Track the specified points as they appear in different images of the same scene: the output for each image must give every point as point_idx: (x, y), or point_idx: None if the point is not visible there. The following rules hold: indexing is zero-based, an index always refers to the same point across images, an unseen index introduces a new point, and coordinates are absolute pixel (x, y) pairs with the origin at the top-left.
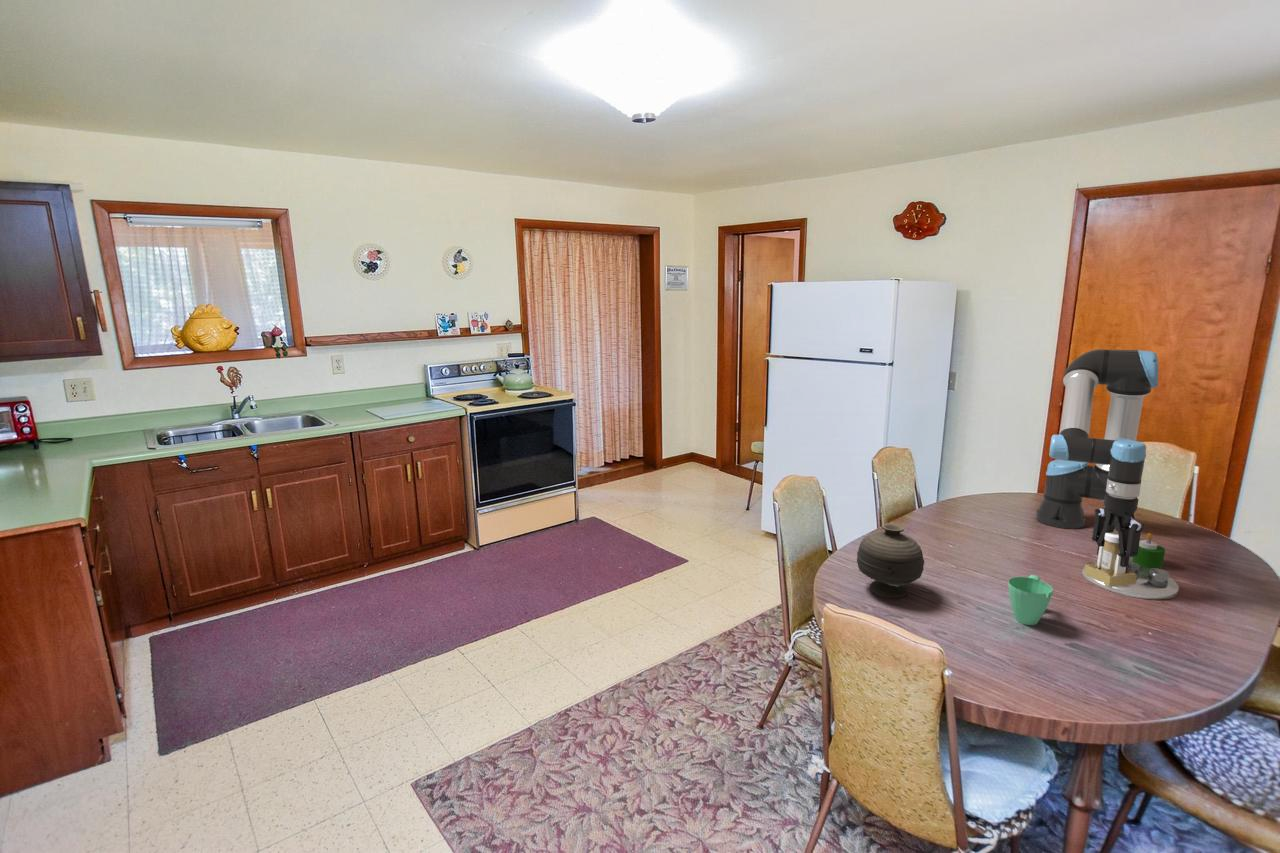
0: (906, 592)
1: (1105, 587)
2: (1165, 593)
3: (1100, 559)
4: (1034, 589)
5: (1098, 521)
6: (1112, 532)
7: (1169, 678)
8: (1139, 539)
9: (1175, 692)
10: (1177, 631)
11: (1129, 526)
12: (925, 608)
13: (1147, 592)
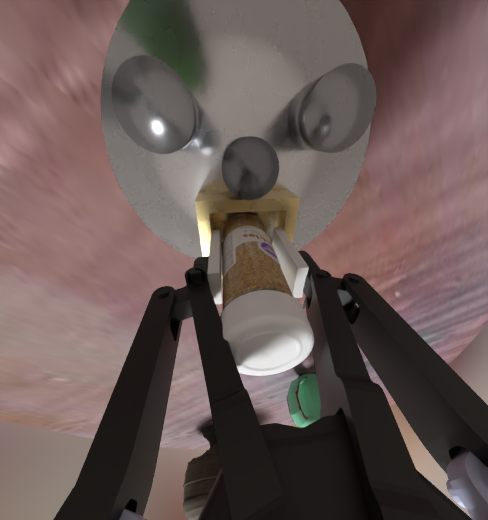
0: None
1: None
2: (361, 154)
3: (221, 269)
4: (312, 412)
5: (158, 446)
6: (230, 344)
7: (444, 333)
8: (430, 350)
9: (454, 341)
10: (423, 255)
11: (453, 497)
12: (259, 419)
13: (334, 201)
